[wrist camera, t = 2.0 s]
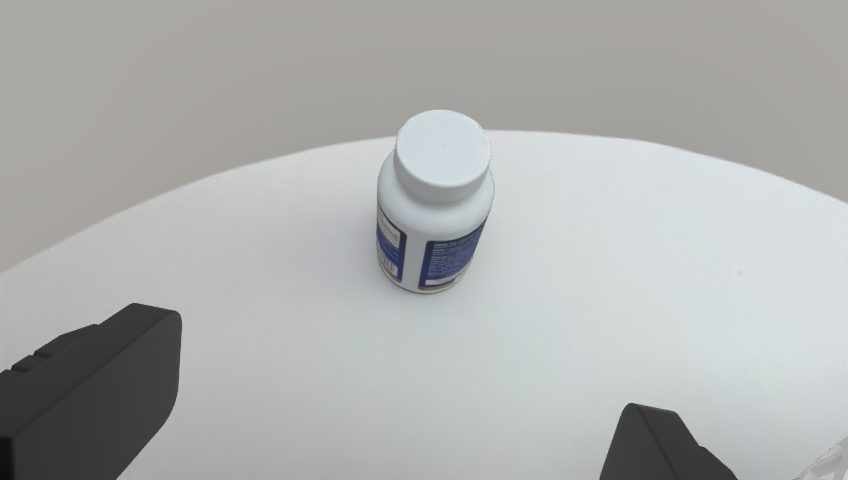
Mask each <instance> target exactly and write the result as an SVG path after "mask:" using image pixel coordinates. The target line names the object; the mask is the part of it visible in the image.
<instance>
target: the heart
mask: <svg viewBox="0 0 848 480" xmlns="http://www.w3.org/2000/svg"><path fill="white" fill-rule="evenodd" d="M794 480H848V438H846V439H844V440H842V441H841V442H839V443H837V444H836V445H835V446H833V447H832V448H830V449H829V450H828V451H827V452H826V453H824V454H823V455H822V456H821V457H820V458H818V459H817V460H816V461H815V462H814V463H813V464H811V465H810V466H809V467H808V468H807V469H806V470H804V471H803V472H802V473H801V474H800V475H799V476H798V477H796V478H795V479H794Z"/></svg>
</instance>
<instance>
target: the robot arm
mask: <svg viewBox="0 0 848 480" xmlns="http://www.w3.org/2000/svg"><path fill="white" fill-rule="evenodd" d="M181 333H182V320H181V316H180V314H179V313H178V312H177V311H173V310H168V309H163V308H158V307H153V306H148V305H143V304H138V303H132V304H130V305H128V306H126V307H125V308H123V309H122V310H120V311H119V312H117V313H116V314H114V315H113V316H111V317H110V318H108V319H107V320H105V321H104V322H102V323H101V324H99V325H97V324H92V325H89V326H86V327H83V328H81V329H78V330H75V331H72V332H69V333H66V334H63V335H60V336H58V337H57V338H55V339H54V340H52V341H51V342H49V343H47V344H46V345H44V346H43V347H41V348H39V349H38V350H36V351H35V352H34V355H33V356H32V355H28V356H27V357H25V358H23V359H22V360H20V361H19V362H17V363H16V364H14V365H12V368H11V370H7V369H6V370H4V371H3V372H1V373H0V480H116V479H117V478H118V477H119V475H120V474H121V473H122V472H123V471H124V470H125V469H126V467H127V466H128V465H129V464H130V463H131V462H132V461H133V459H134V458H135V457H136V456H137V455H138V454H139V452H140V451H141V450H142V449H143V448H144V447H145V446H146V444H147V443H148V442H149V441H150V440H151V439H152V437H153V436H154V435H155V434H156V433H157V432H158V431H159V429H160V428H161V427H162V426H163V425H164V423H165V422H166V420H167V419H168V417H169V415H170V413H171V411H172V409H173V406H174V404H175V401H176V397H177V392H178V382H179V366H180V349H181ZM599 480H738V479H737V478H736V477H735V475H734V474H733V472H732V471H731V470H730V469H729V468H728V467H727V466H725V465H724V464H723V463H722V462H721V461H720V460H719V459H717V458H716V457H715V456H714V455H713V454H712V453H711V452H709V451H708V450H707V449H706V448H705V447H702V446H699V445H698V444H697V442H696V441H695V439H694V438H693V436H692V435H691V433H690V432H689V430H688V429H687V427H686V426H685V424H684V423H683V421H682V420H681V418H680V417H679V415H678V414H677V413H675V412H673V411H669V410H664V409H659V408H654V407H649V406H644V405H639V404H634V403H630V404H628V405H627V406H626V407H625V408H624V409H623V411H622V414H621V416H620V419H619V422H618V425H617V428H616V431H615V434H614V437H613V439H612V442H611V445H610V448H609V451H608V454H607V457H606V460H605V463H604V466H603V469H602V472H601V475H600V479H599Z"/></svg>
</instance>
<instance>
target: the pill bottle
mask: <svg viewBox="0 0 848 480" xmlns="http://www.w3.org/2000/svg"><path fill="white" fill-rule="evenodd" d="M491 152H492V150H491V144H490V141H489V138H488V136H487V134H486V133H485V131H484V130H483V128H482V127H481V126H480V125H479V124H478V123H476V122H475V121H474V120H472V119H471V118H469V117H467V116H466V115H463V114H461V113H458V112H455V111H450V110H430V111H426V112H422V113H420V114H417V115H415V116H414V117H412V118H410V119H409V120H408V121H407V122H406V123H405V124H404V125H403V126H402V128H401V129H400V131H399V133H398V135H397V138H396V144H395V149H394V150H393V151H392V152H391V153H390V154H389V155H388V156H387V158H386V159H385V161H384V163H383V165H382V167H381V169H380V172H379V176H378V185H377V231H376V236H377V242H376V243H377V255H378V260H379V262H380V265H381V267H382V269H383V271H384V272H385V274H386V275H387V276H388V277H389V278H390V279H391V280H392V281H393V282H394V283H395V284H397V285H398V286H400V287H402V288H404V289H407V290H410V291H413V292H418V293H435V292H439V291H443V290H446V289H448V288H450V287H451V286H453V285H454V284H455V283H457V282H458V281H459V280H460V279H461V278H462V276H463V275H464V274H465V272H466V271H467V269H468V267H469V265H470V262H471V260H472V257H473V254H474V251H475V249H476V246H477V243H478V241H479V238H480V235H481V233H482V230H483V227H484V225H485V222H486V220H487V217H488V214H489V212H490V209H491V206H492V202H493V198H494V180H493V176H492V173H491V170H490V168H489V164H490V160H491Z"/></svg>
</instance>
